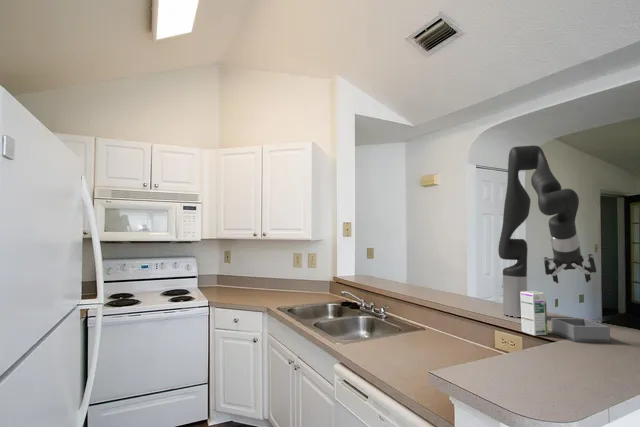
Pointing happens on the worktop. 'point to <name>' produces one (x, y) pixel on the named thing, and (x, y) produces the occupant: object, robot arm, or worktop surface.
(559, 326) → the tray
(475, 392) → the worktop surface
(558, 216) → the robot arm
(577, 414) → the worktop surface
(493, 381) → the worktop surface
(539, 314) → the syrup box
